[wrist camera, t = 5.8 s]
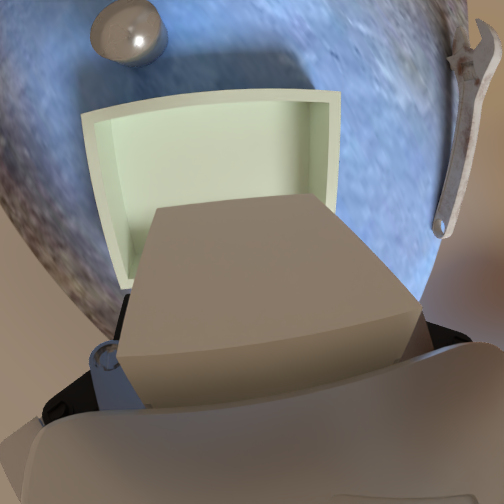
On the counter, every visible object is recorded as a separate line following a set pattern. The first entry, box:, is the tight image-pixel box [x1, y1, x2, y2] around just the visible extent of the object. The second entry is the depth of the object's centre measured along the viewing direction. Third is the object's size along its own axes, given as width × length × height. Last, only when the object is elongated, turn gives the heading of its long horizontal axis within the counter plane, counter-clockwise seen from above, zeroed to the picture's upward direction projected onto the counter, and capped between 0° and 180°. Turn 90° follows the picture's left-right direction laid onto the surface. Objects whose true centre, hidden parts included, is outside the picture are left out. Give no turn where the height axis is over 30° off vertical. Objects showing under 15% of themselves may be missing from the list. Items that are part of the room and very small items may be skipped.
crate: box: [81, 89, 341, 289], centre depth 25 cm, size 16×20×5 cm
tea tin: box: [90, 0, 168, 67], centre depth 17 cm, size 5×5×6 cm
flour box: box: [116, 193, 423, 409], centre depth 9 cm, size 6×6×7 cm
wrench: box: [432, 19, 502, 239], centre depth 25 cm, size 8×2×30 cm
